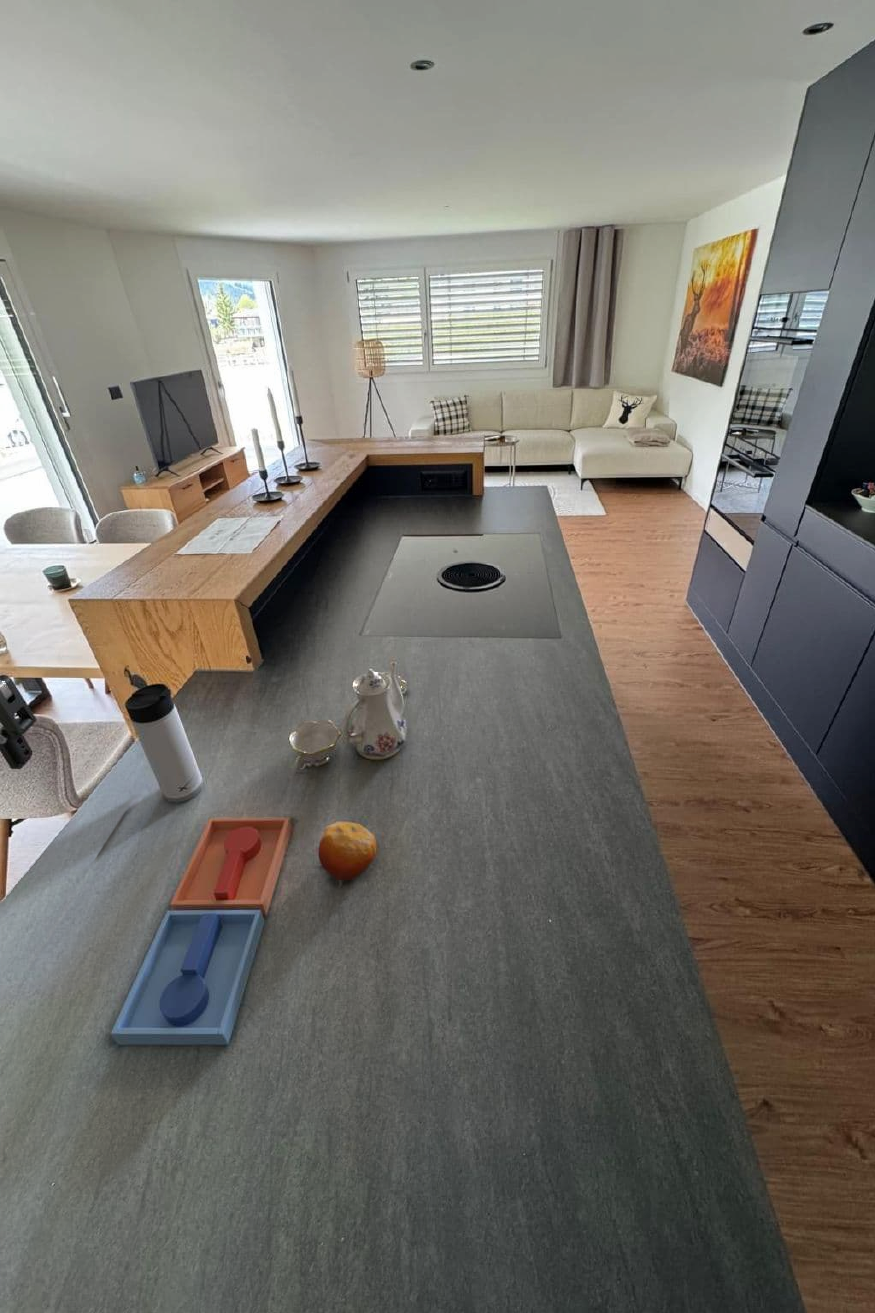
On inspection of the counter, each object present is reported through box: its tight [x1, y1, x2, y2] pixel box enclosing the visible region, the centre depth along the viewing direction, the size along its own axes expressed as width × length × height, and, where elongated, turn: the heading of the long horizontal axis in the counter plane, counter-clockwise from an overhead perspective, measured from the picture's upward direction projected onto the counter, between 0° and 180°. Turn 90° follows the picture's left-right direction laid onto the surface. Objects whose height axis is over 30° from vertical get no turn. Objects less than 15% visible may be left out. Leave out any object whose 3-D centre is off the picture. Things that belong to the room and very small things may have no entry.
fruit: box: [318, 821, 377, 890], centre depth 77 cm, size 8×8×8 cm
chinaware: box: [287, 662, 409, 772], centre depth 97 cm, size 28×17×17 cm, turn 150°
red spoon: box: [213, 827, 261, 900], centre depth 77 cm, size 12×5×3 cm, turn 1°
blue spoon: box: [160, 913, 222, 1027], centre depth 65 cm, size 12×5×3 cm, turn 179°
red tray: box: [169, 816, 293, 916], centre depth 78 cm, size 12×14×2 cm
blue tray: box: [110, 910, 266, 1046], centre depth 65 cm, size 12×14×2 cm
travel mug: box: [124, 683, 204, 804], centre depth 87 cm, size 6×7×20 cm
